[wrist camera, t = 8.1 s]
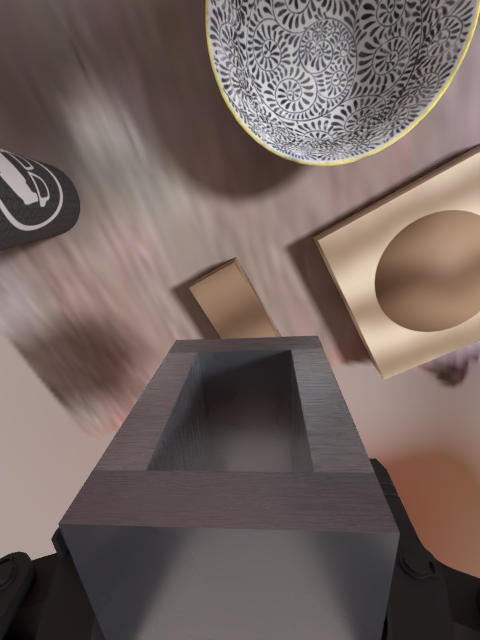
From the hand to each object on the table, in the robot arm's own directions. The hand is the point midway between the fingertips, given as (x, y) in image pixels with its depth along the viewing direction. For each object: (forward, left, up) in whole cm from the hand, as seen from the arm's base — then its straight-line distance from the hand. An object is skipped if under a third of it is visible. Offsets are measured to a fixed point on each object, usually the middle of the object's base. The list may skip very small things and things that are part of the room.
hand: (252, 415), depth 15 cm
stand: (0, -2, -18) cm, 19 cm away
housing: (0, 0, +1) cm, 1 cm away
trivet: (+5, +16, -18) cm, 25 cm away
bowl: (-15, +14, -19) cm, 28 cm away
